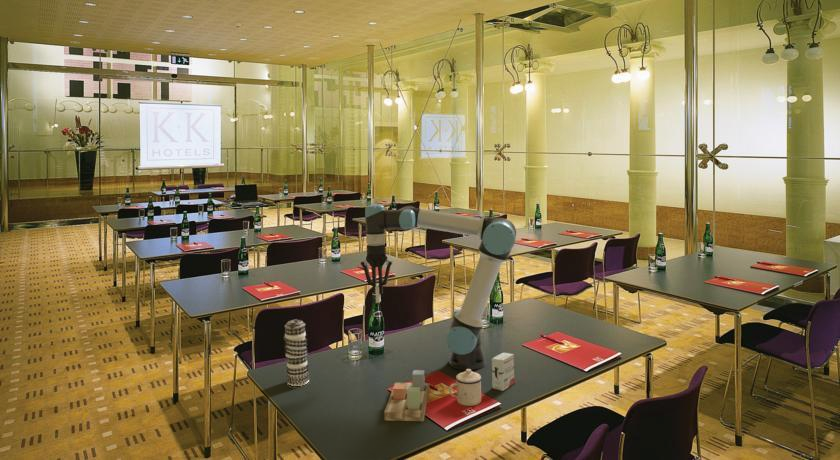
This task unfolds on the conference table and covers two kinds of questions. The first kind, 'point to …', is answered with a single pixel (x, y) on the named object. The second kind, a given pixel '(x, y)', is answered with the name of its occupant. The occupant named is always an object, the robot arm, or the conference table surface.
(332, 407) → the conference table surface
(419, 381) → the block slate
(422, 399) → the block board
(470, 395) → the teacup with lid
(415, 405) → the block sage
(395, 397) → the block terracotta
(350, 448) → the conference table surface
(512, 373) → the ink box
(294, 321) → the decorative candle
